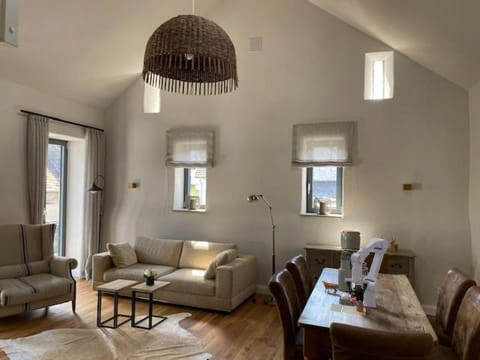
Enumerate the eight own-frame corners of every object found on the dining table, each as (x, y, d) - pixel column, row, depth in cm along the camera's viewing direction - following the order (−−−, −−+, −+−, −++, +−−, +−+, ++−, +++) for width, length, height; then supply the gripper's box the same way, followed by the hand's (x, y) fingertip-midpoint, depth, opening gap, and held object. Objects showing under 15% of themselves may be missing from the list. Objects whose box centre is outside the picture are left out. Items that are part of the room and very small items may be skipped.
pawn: (356, 309, 226) (356, 299, 226) (363, 310, 225) (363, 300, 225) (356, 311, 222) (356, 301, 222) (363, 312, 221) (363, 302, 221)
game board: (331, 303, 237) (331, 303, 237) (366, 308, 230) (366, 307, 230) (329, 311, 222) (329, 310, 222) (365, 316, 215) (365, 315, 215)
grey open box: (339, 300, 243) (340, 295, 243) (357, 303, 239) (357, 297, 239) (339, 304, 236) (339, 298, 236) (357, 306, 232) (357, 300, 232)
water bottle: (346, 287, 275) (347, 250, 275) (354, 291, 266) (355, 252, 266) (335, 288, 272) (336, 250, 272) (342, 292, 262) (343, 253, 262)
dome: (341, 299, 241) (341, 292, 241) (349, 300, 240) (349, 293, 240) (341, 302, 237) (341, 294, 237) (348, 303, 235) (348, 295, 235)
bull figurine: (322, 289, 267) (323, 278, 267) (339, 294, 257) (339, 282, 257) (319, 291, 264) (319, 279, 264) (336, 295, 254) (336, 283, 254)
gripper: (344, 273, 225) (344, 295, 225) (369, 275, 220) (369, 298, 220) (345, 270, 231) (344, 291, 231) (369, 272, 227) (369, 294, 227)
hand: (356, 294), depth 226 cm, fingers open, 7 cm apart
